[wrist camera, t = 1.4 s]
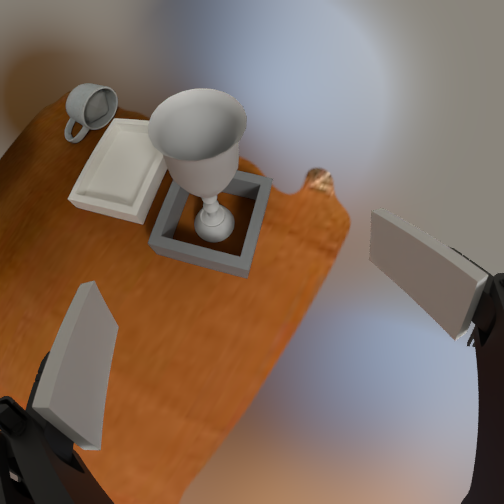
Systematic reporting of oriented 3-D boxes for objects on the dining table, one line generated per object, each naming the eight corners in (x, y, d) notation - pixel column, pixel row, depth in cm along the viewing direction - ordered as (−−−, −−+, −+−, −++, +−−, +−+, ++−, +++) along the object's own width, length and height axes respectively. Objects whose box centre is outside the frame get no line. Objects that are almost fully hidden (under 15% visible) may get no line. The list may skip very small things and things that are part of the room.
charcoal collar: (157, 254, 32) (147, 243, 29) (187, 176, 36) (182, 159, 32) (247, 278, 32) (248, 270, 28) (269, 195, 35) (272, 178, 32)
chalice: (180, 208, 34) (140, 106, 17) (229, 190, 35) (225, 79, 18) (198, 259, 32) (160, 177, 15) (251, 238, 34) (264, 141, 16)
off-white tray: (76, 207, 34) (67, 199, 31) (119, 129, 38) (114, 118, 36) (143, 224, 33) (136, 215, 31) (183, 136, 38) (180, 124, 35)
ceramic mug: (99, 100, 41) (85, 72, 33) (123, 108, 40) (110, 78, 32) (61, 138, 38) (42, 113, 31) (82, 151, 37) (62, 123, 30)
